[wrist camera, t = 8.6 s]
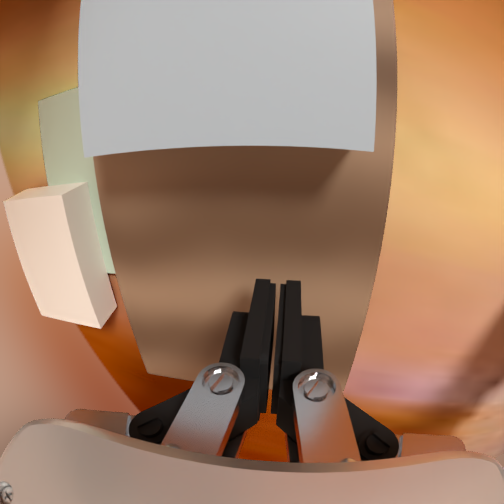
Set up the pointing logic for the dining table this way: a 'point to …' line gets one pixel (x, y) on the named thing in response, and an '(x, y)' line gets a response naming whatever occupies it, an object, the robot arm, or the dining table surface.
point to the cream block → (61, 253)
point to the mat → (70, 155)
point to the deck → (250, 233)
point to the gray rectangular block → (226, 74)
